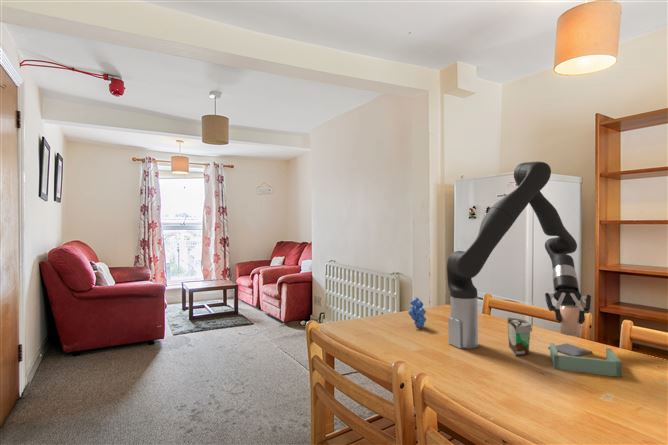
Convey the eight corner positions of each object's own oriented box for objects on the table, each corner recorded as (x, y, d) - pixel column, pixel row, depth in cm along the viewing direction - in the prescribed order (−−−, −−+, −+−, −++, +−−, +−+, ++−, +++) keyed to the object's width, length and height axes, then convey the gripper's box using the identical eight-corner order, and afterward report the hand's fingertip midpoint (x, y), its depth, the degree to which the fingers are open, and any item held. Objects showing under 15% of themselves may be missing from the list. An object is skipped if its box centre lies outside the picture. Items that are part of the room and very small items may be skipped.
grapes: (402, 323, 166) (402, 296, 166) (417, 322, 167) (416, 295, 167) (414, 331, 154) (414, 301, 154) (429, 329, 156) (429, 300, 156)
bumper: (622, 377, 107) (621, 362, 107) (554, 368, 113) (554, 355, 113) (611, 361, 118) (610, 348, 118) (550, 354, 125) (550, 342, 125)
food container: (537, 359, 122) (537, 327, 121) (517, 357, 123) (516, 326, 123) (526, 346, 134) (526, 317, 134) (507, 345, 135) (507, 317, 135)
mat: (573, 357, 122) (573, 355, 122) (548, 348, 131) (548, 346, 131) (592, 353, 126) (592, 351, 126) (566, 345, 134) (566, 343, 134)
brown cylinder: (572, 336, 125) (571, 308, 125) (556, 332, 130) (555, 305, 130) (583, 334, 127) (583, 307, 127) (567, 329, 132) (567, 303, 132)
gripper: (542, 273, 138) (546, 314, 127) (590, 274, 132) (598, 317, 121) (542, 285, 143) (545, 325, 132) (587, 287, 137) (595, 329, 126)
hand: (570, 321), depth 127 cm, fingers closed on brown cylinder, 5 cm apart
